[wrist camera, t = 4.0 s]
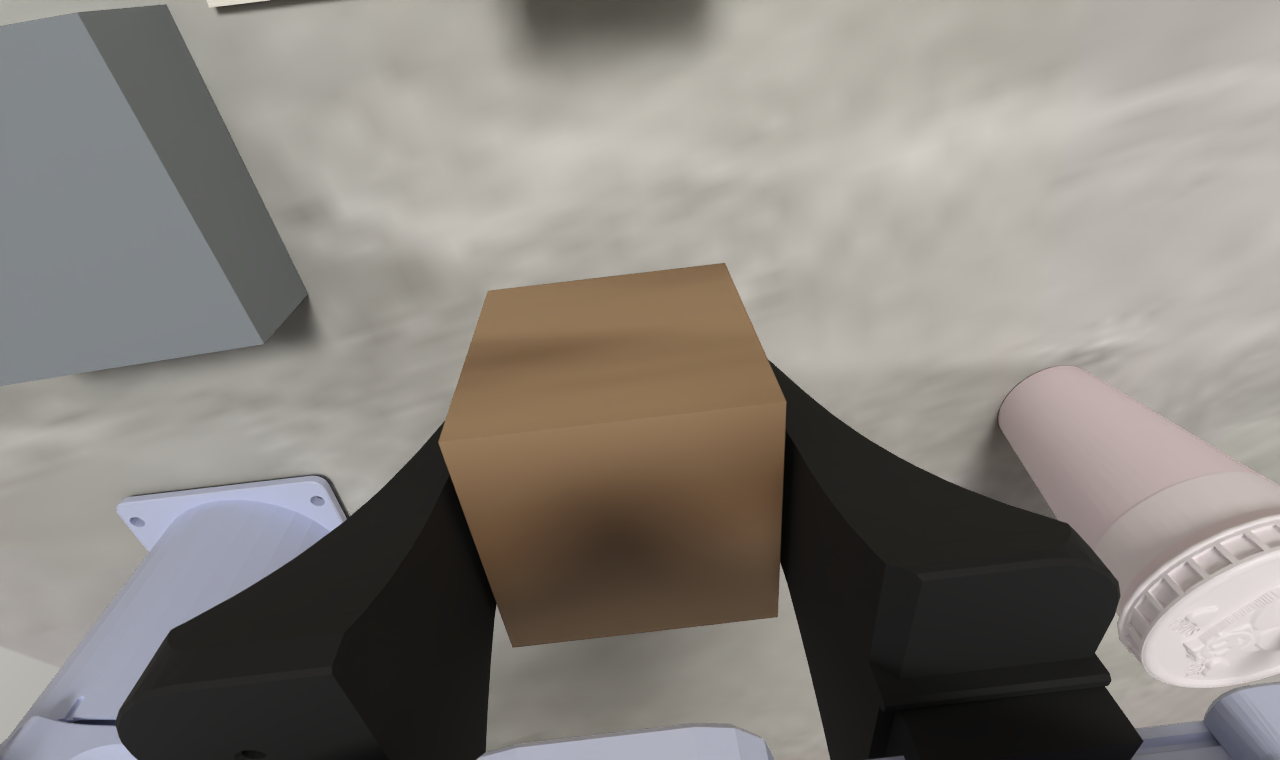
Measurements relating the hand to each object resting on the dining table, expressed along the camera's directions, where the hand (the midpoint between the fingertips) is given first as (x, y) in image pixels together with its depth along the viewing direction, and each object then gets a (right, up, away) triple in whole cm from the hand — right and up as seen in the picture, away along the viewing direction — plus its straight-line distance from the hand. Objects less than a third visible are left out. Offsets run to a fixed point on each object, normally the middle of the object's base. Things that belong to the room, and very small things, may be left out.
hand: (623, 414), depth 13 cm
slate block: (-15, +6, +5) cm, 17 cm away
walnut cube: (0, +1, +1) cm, 2 cm away
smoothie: (+16, 0, +11) cm, 20 cm away
